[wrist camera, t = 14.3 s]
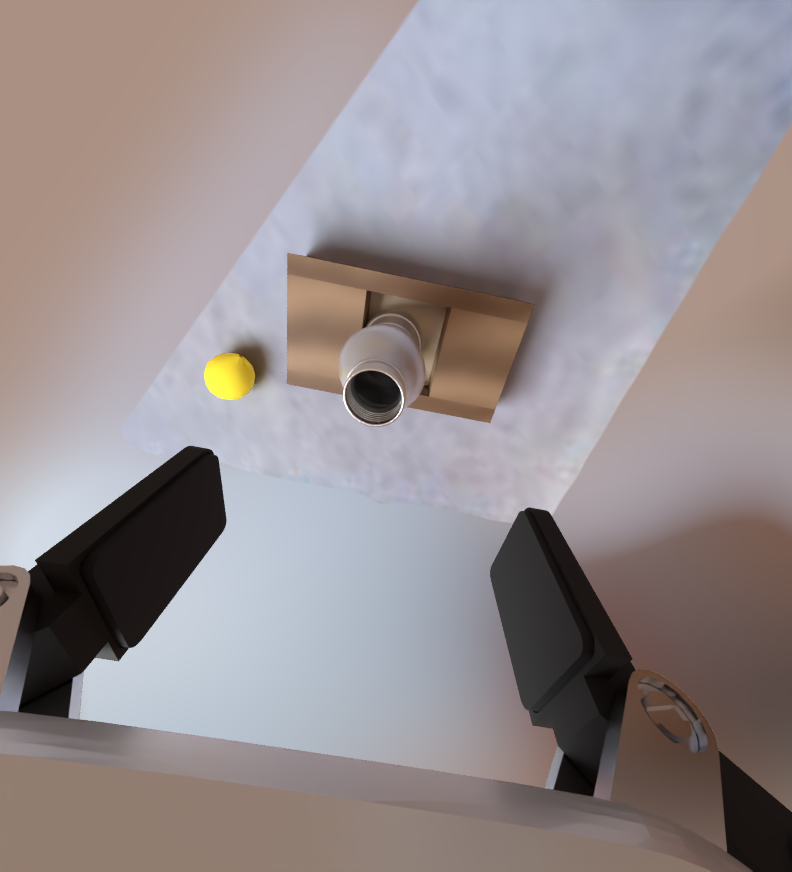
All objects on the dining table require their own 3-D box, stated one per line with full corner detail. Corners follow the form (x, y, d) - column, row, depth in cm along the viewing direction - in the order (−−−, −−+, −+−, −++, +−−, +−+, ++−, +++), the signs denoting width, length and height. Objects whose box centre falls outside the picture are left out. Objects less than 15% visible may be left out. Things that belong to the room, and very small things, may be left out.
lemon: (250, 398, 41) (226, 417, 37) (215, 372, 40) (185, 389, 35) (272, 363, 38) (249, 380, 33) (234, 333, 36) (204, 347, 32)
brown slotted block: (305, 256, 32) (287, 253, 28) (518, 300, 33) (534, 304, 29) (302, 371, 38) (287, 384, 34) (481, 405, 39) (490, 423, 35)
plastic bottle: (391, 375, 37) (370, 466, 19) (355, 331, 35) (293, 387, 17) (434, 342, 35) (454, 410, 17) (398, 293, 32) (378, 311, 15)
